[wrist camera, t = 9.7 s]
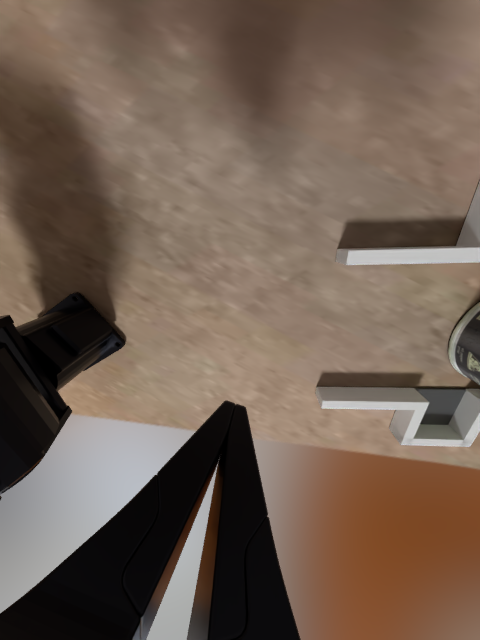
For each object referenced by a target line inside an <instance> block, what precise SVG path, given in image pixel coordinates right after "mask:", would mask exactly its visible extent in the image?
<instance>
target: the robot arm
mask: <svg viewBox="0 0 480 640" xmlns="http://www.w3.org/2000/svg"><path fill="white" fill-rule="evenodd" d="M76 297H77V298H78V300H77V299H76ZM13 323H14V321H13V320H12V318H11V317H10V315H5V316H0V494H2V493H4V492H5V491H7V490H8V489H10V488H11V487H13V486H14V485H16V484H17V483H18V482H19V481H21V480H22V479H23V478H24V477H26V476H27V475H28V474H29V473H30V472H31V471H32V470H33V469H34V468H35V467H36V466H37V465H38V464H39V463H40V461H41V460H42V459H43V457H44V456H45V454H46V453H47V451H48V449H49V448H50V446H51V445H52V443H53V441H54V440H55V438H56V437H57V435H58V433H59V432H60V430H61V428H62V427H63V425H64V424H65V422H66V420H67V419H68V417H69V416H70V414H71V413H72V410H71V408H70V407H69V406H67V405H66V403H65V402H64V400H63V399H62V397H61V396H60V394H59V393H58V390H60V389H61V388H62V387H63V386H65V385H66V384H67V383H68V382H69V381H71V380H72V379H73V378H74V377H76V376H77V375H78V374H79V373H81V372H82V371H85V370H87V369H88V368H90V367H91V366H93V365H95V364H96V363H98V362H100V361H101V360H103V359H105V358H106V357H108V356H110V355H111V354H113V353H114V352H116V351H118V350H119V349H121V348H122V347H123V346H124V345H125V342H124V340H123V339H122V338H121V337H120V336H119V335H118V334H117V332H116V331H115V330H114V329H113V328H112V327H111V326H110V325H109V324H108V323H107V322H106V320H105V319H104V318H103V317H102V316H101V315H100V314H99V313H98V312H97V311H96V310H95V308H94V307H93V306H92V305H91V304H90V303H89V302H88V301H87V300H86V299H85V298H84V296H83V295H82V294H80V293H78V292H76V293H73V294H71V295H69V296H68V297H67V298H65V299H64V300H63V301H61V302H60V303H59V304H57V305H56V306H55V307H54V308H52V309H51V310H50V311H48V312H47V313H46V314H44V315H43V316H42V317H40V318H38V319H35V320H33V321H30V322H28V323H25V324H23V325H20V326H17V327H15V326H14V324H13ZM118 343H120V344H118ZM220 454H221V455H220ZM218 461H219V462H218ZM217 464H218V467H217V472H216V478H215V483H214V489H213V494H212V500H211V506H210V511H209V517H208V523H207V529H206V534H205V540H204V546H203V551H202V556H201V562H200V568H199V574H198V580H197V585H196V590H195V596H194V602H193V607H192V613H191V619H190V624H189V630H188V636H187V640H300V636H299V633H298V629H297V626H296V623H295V619H294V616H293V612H292V609H291V606H290V602H289V598H288V595H287V591H286V587H285V584H284V580H283V576H282V573H281V569H280V565H279V561H278V558H277V553H276V548H275V544H274V540H273V536H272V531H271V526H270V521H269V517H267V515H268V512H267V507H266V502H265V497H264V492H263V488H262V483H261V478H260V474H259V468H258V464H257V459H256V454H255V449H254V444H253V439H252V434H251V430H250V425H249V420H248V415H247V410H246V407H244V406H242V405H239V404H236V405H235V403H233V402H230V401H224V402H223V403H222V404H221V406H220V407H219V408H218V409H217V410H216V411H215V412H214V413H213V414H212V415H211V416H210V417H209V418H208V419H207V420H206V422H205V423H204V424H203V425H202V426H201V427H200V428H199V429H198V430H197V431H196V432H195V433H194V434H193V435H192V437H191V438H190V439H189V440H188V441H187V442H186V443H185V444H184V445H183V446H182V447H181V448H180V449H179V450H178V452H177V453H176V454H175V455H174V456H173V457H172V458H171V459H170V460H169V461H168V462H167V463H166V464H165V465H164V467H162V469H161V470H160V471H159V472H158V473H157V475H155V476H154V477H153V478H152V479H151V480H150V481H149V482H148V483H147V484H146V485H145V486H144V487H143V488H142V489H141V491H140V492H139V493H138V494H137V495H136V496H135V497H134V498H133V499H132V500H131V501H130V502H129V503H128V504H127V505H125V506H124V508H122V509H121V510H120V511H119V512H118V513H117V514H116V515H115V516H114V517H113V518H111V520H109V521H108V522H107V523H106V524H105V525H104V526H103V527H102V528H100V530H98V531H97V532H96V533H95V534H94V535H93V536H92V537H90V538H89V539H88V540H87V541H86V542H85V543H83V544H82V545H81V546H80V547H79V548H78V549H77V550H76V551H74V552H73V553H72V554H71V555H70V556H69V557H68V558H67V559H65V560H64V561H63V562H62V563H61V564H60V565H59V566H58V567H56V568H55V569H54V570H53V571H52V572H51V573H50V574H49V575H47V576H46V577H45V578H44V579H43V580H42V581H40V582H39V583H38V584H37V585H36V586H35V587H33V588H32V589H31V590H30V591H29V592H28V593H26V594H25V595H24V596H23V597H21V598H20V599H19V600H17V601H16V602H15V603H13V604H12V605H11V606H10V607H8V608H7V609H6V610H4V611H3V612H2V613H0V640H146V638H147V636H148V633H149V631H150V628H151V626H152V623H153V621H154V619H155V616H156V614H157V611H158V609H159V606H160V604H161V601H162V599H163V597H164V594H165V591H166V589H167V587H168V584H169V581H170V579H171V577H172V574H173V572H174V570H175V567H176V565H177V562H178V560H179V557H180V554H181V552H182V550H183V547H184V545H185V542H186V540H187V538H188V535H189V533H190V530H191V528H192V525H193V523H194V521H195V518H196V516H197V513H198V511H199V508H200V506H201V503H202V501H203V498H204V496H205V494H206V491H207V489H208V486H209V484H210V481H211V479H212V477H213V474H214V472H215V469H216V466H217ZM0 500H1V496H0Z"/></svg>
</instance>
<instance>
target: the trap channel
mask: <svg viewBox="0 0 480 640" xmlns="http://www.w3.org/2000/svg"><path fill="white" fill-rule="evenodd" d="M336 262H338V263H341V264H344V265H372V264H422V263H472V262H480V181H479V184H478V187H477V189H476V192H475V195H474V198H473V200H472V203H471V206H470V209H469V211H468V214H467V217H466V220H465V222H464V225H463V228H462V230H461V233H460V236H459V239H458V241H457V244H456V246H432V247H391V248H350V249H337V255H336ZM315 394H316V397H317V399H318V402H319V404H320V407H321V408H325V409H380V410H396V411H395V413H394V416H393V419H392V422H391V424H390V427H389V429H390V431H391V432H392V433H393V435H394V436H395V438H396V439H397V440H398V442H399V443H400V445H421V446H458V447H470V446H471V444H472V443H473V441H474V439H475V438H476V436H477V434H478V433H479V431H480V389H461V388H381V387H316V393H315Z"/></svg>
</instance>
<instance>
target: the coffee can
mask: <svg viewBox="0 0 480 640" xmlns="http://www.w3.org/2000/svg"><path fill="white" fill-rule="evenodd" d="M448 355H449V359H450V362H451V364H452V366H453V367H454V368H455V369H456V370H457V371H458V372H459V373H460V374H462V375H463V376H465V377H468V378H470V379H471V380H473V381H474V382H476V383H477V384H479V385H480V302H479V303H477V304H476V305H475V306H474V307H473V308H472V309H471V310H469V311H468V312H467V313H466V314H465V316H464V317H463V318H462V320H461V321H460V322H459V323H458V324H457V326H456V328H455V329H454V331H453V333H452V335H451V338H450V341H449V347H448Z"/></svg>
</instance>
